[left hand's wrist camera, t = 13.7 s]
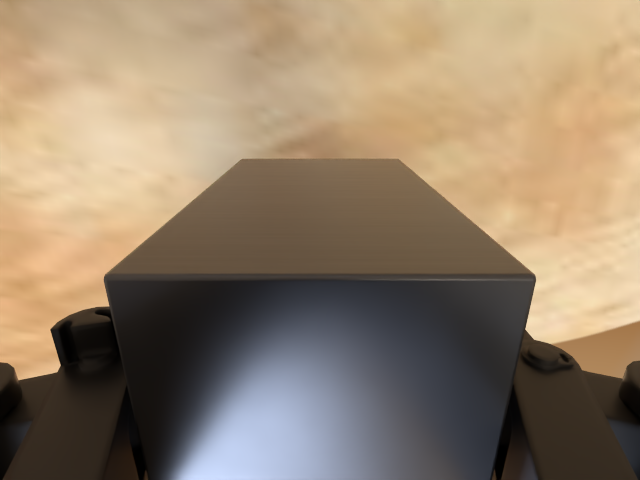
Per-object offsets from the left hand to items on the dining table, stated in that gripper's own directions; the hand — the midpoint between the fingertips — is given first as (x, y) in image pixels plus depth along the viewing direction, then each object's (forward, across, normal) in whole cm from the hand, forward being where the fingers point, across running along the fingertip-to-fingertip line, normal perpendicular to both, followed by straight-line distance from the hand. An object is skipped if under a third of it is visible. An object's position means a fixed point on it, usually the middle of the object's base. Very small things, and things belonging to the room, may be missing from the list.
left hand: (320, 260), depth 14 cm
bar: (+1, 0, -9) cm, 9 cm away
